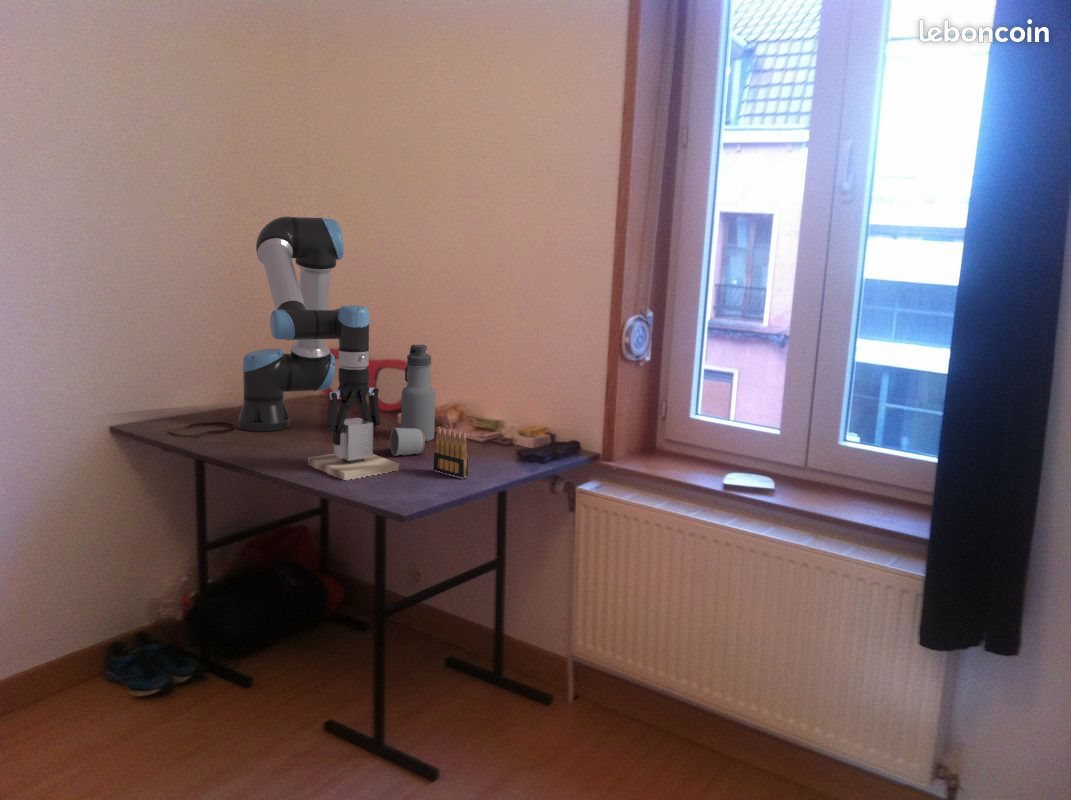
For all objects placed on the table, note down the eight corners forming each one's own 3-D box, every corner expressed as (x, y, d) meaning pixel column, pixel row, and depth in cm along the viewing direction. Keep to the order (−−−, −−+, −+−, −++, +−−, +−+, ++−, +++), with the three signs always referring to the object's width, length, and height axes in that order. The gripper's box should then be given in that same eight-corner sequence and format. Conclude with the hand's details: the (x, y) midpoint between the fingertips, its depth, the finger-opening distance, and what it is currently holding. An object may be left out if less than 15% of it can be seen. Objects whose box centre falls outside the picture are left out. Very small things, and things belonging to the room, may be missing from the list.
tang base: (308, 464, 238) (307, 435, 236) (361, 456, 248) (361, 427, 247) (344, 480, 225) (344, 449, 223) (398, 471, 235) (399, 441, 234)
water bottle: (397, 435, 275) (398, 343, 269) (429, 434, 278) (431, 342, 273) (405, 443, 265) (406, 347, 260) (437, 442, 269) (440, 347, 263)
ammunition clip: (433, 471, 237) (434, 426, 235) (438, 470, 238) (439, 425, 236) (463, 479, 230) (464, 433, 228) (468, 478, 232) (469, 432, 230)
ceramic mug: (426, 456, 252) (426, 429, 250) (397, 458, 248) (398, 431, 246) (412, 448, 261) (413, 421, 259) (385, 450, 257) (385, 423, 256)
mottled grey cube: (333, 454, 236) (333, 420, 234) (357, 450, 241) (358, 417, 239) (348, 460, 231) (348, 425, 229) (372, 456, 236) (373, 422, 234)
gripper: (326, 372, 222) (326, 463, 226) (395, 366, 236) (394, 452, 240) (310, 367, 228) (311, 457, 232) (379, 362, 241) (378, 446, 245)
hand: (353, 454), depth 236 cm, fingers closed on mottled grey cube, 7 cm apart
